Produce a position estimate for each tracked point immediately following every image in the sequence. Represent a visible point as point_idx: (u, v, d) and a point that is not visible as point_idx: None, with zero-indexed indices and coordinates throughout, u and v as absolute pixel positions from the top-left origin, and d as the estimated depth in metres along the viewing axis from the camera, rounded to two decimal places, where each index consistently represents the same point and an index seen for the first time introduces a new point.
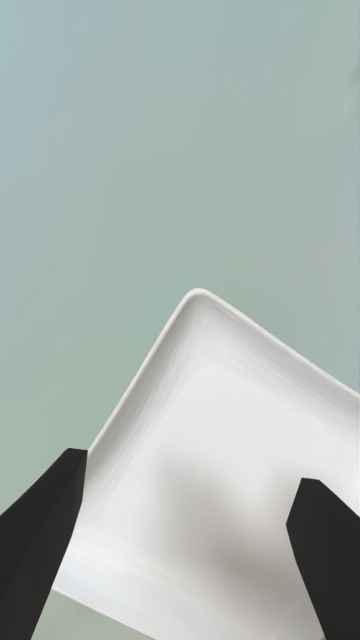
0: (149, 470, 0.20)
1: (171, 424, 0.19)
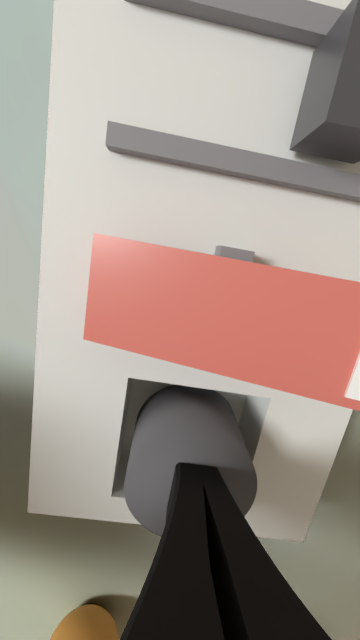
0: None
1: None
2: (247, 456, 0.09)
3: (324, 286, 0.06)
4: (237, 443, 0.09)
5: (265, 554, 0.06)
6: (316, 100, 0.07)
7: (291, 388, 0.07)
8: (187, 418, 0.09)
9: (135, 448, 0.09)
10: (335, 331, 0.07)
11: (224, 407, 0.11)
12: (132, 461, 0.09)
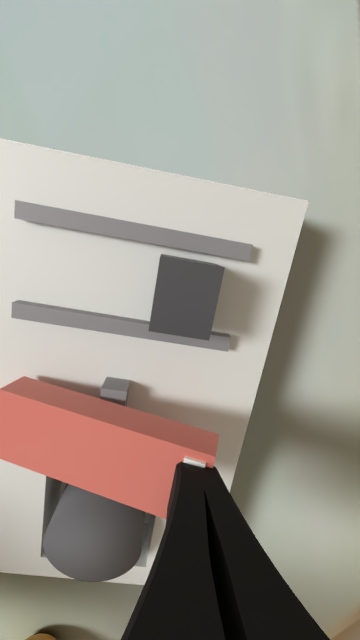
0: None
1: None
2: (131, 523, 0.12)
3: (150, 443, 0.09)
4: (124, 514, 0.12)
5: (264, 554, 0.06)
6: None
7: (138, 506, 0.10)
8: (91, 493, 0.13)
9: (53, 515, 0.13)
10: (161, 472, 0.09)
11: None
12: (48, 527, 0.12)
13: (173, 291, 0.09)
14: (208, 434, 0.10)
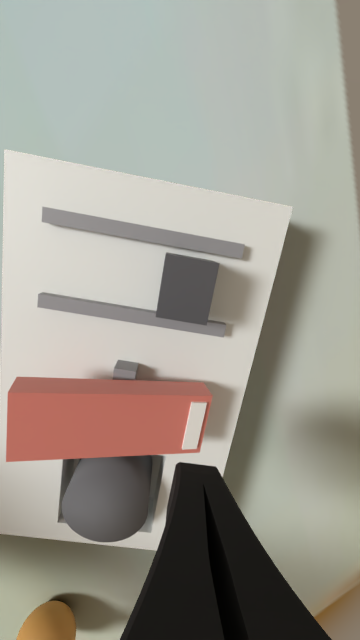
0: None
1: None
2: (139, 489, 0.14)
3: (165, 400, 0.12)
4: (133, 481, 0.14)
5: (265, 554, 0.06)
6: None
7: (155, 452, 0.13)
8: (103, 463, 0.15)
9: (70, 482, 0.15)
10: (173, 420, 0.12)
11: None
12: (66, 492, 0.14)
13: (177, 283, 0.10)
14: (197, 384, 0.13)
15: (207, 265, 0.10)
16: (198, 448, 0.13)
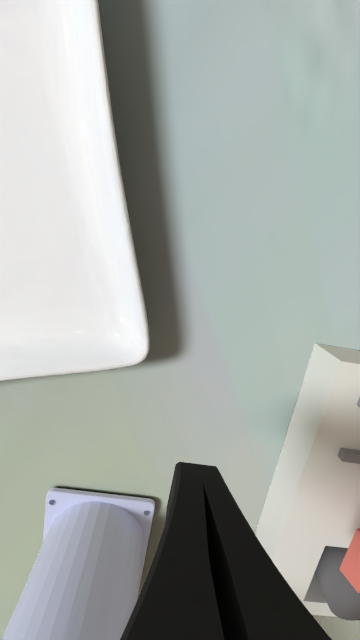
0: None
1: None
2: None
3: None
4: None
5: (265, 554, 0.06)
6: None
7: None
8: None
9: (331, 576, 0.19)
10: None
11: None
12: (335, 586, 0.19)
13: None
14: None
15: None
16: None
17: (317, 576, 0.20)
